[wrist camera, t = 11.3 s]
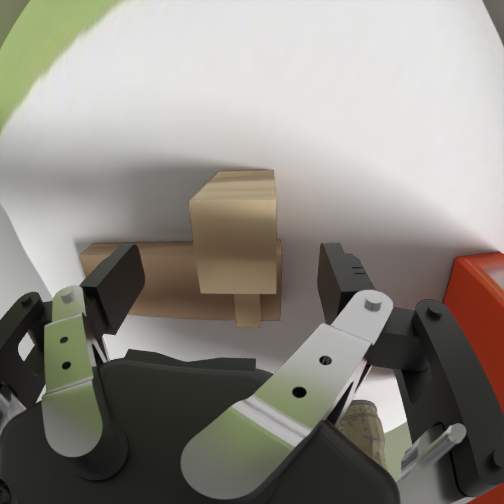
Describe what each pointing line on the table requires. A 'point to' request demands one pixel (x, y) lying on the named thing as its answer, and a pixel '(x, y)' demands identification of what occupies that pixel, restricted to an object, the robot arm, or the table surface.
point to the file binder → (482, 323)
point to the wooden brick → (237, 239)
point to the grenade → (364, 429)
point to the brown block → (180, 283)
